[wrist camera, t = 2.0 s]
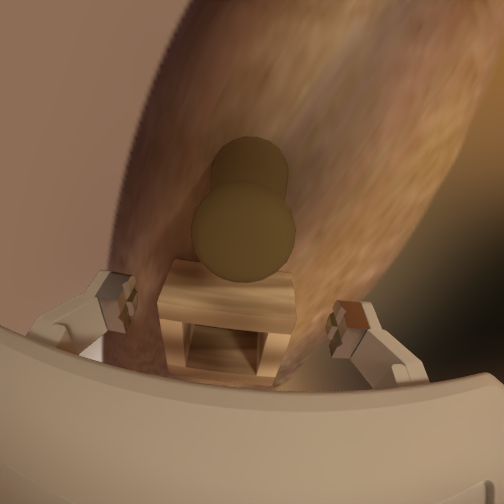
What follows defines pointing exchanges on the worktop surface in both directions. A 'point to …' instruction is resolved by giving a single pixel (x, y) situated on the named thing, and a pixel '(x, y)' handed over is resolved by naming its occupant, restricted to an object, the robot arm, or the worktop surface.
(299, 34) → the worktop surface
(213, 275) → the shaker holder
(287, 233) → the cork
